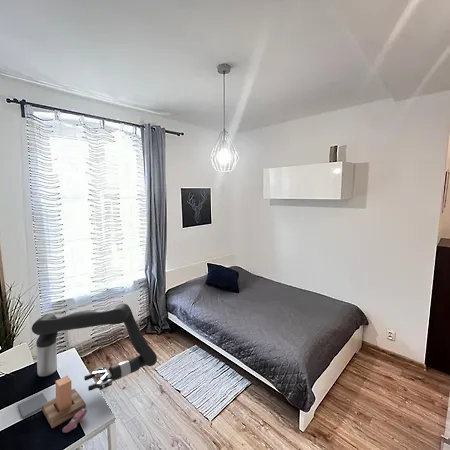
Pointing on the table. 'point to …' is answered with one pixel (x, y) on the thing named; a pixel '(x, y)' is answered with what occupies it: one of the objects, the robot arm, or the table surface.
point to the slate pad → (32, 405)
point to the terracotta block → (63, 393)
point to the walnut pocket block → (58, 418)
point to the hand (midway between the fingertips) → (86, 383)
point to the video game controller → (75, 420)
